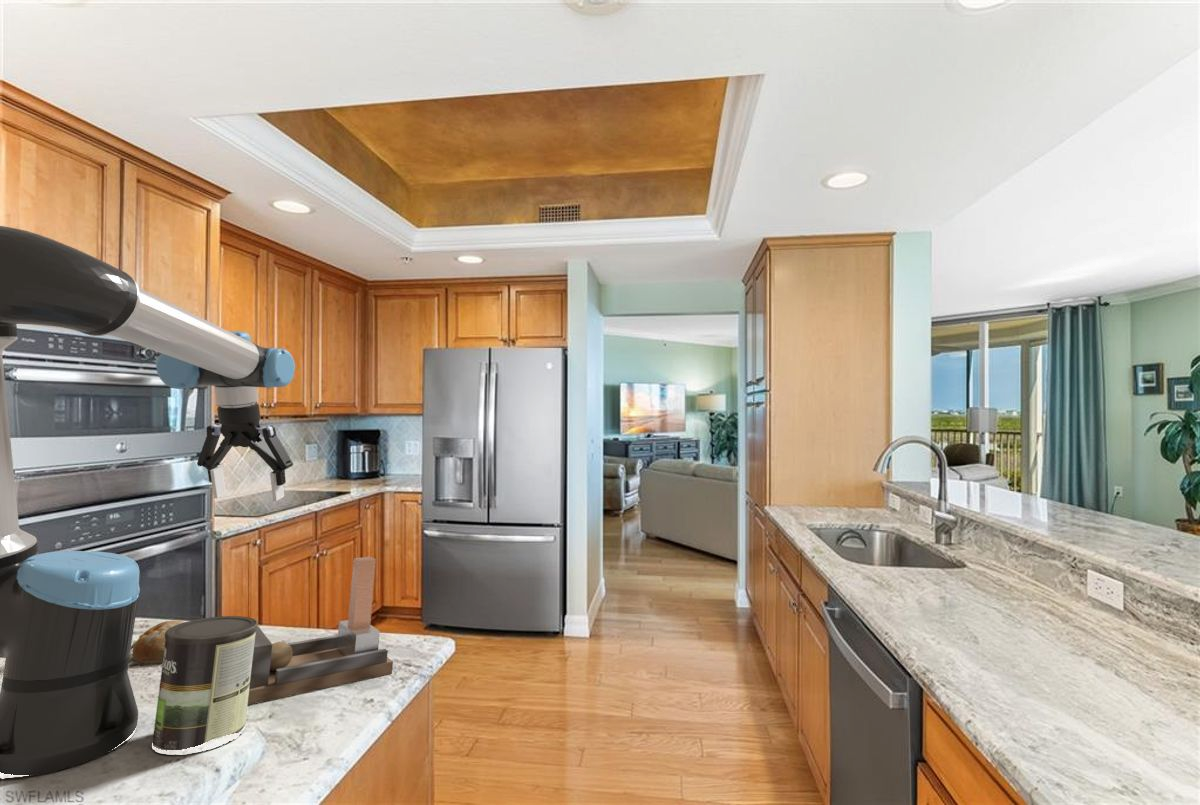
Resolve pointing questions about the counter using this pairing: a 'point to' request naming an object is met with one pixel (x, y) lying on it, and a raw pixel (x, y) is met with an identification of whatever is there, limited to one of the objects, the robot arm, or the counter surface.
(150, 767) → the counter surface
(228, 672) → the coffee can
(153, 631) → the bread roll
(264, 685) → the base
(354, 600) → the sliding jaw
